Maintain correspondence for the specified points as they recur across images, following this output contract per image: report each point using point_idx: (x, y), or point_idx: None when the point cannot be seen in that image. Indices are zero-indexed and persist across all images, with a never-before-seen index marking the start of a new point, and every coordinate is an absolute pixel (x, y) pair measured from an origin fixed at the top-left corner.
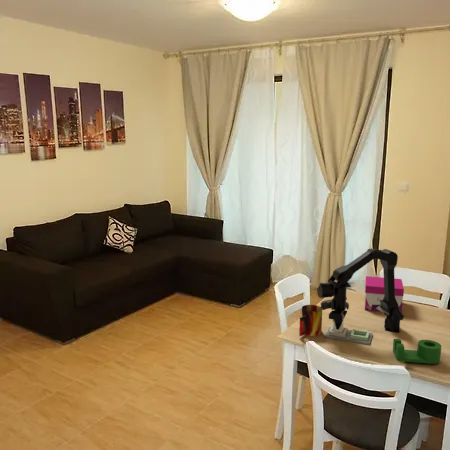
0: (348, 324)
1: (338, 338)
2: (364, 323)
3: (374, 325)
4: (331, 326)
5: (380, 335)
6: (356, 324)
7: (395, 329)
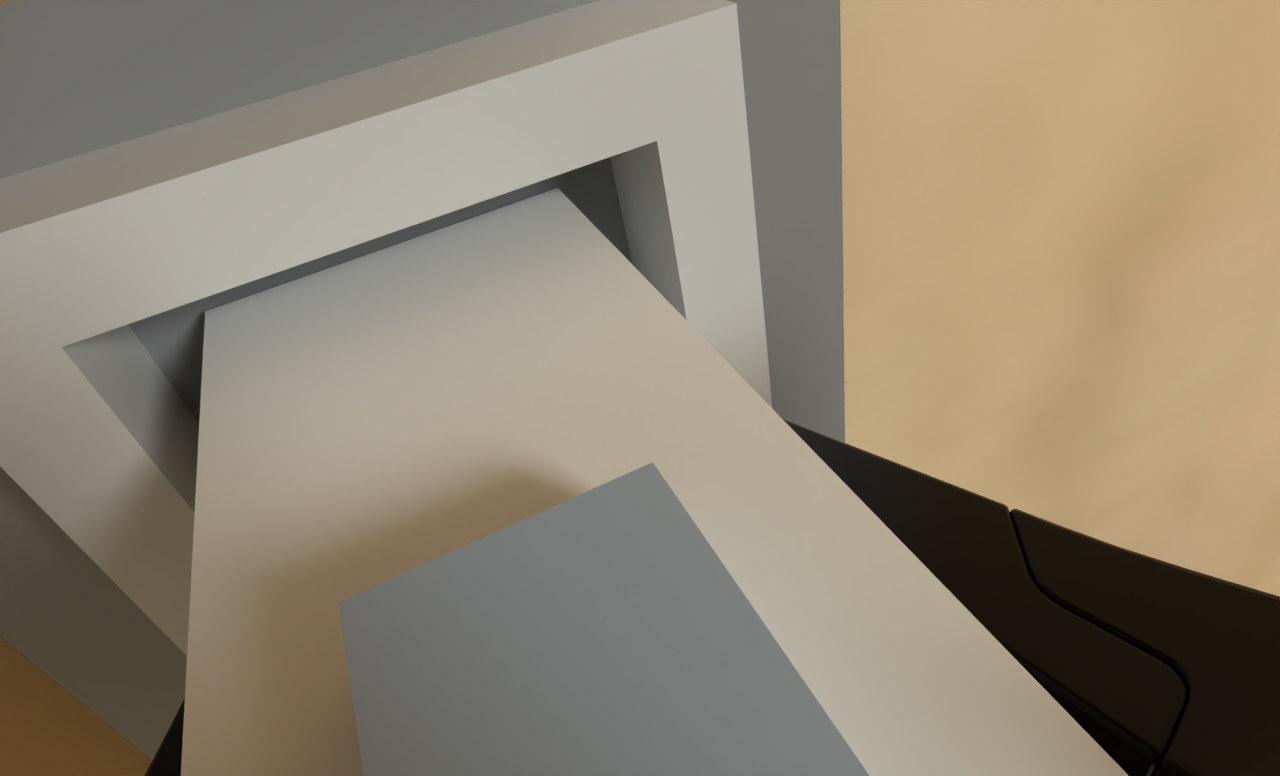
0: (1190, 169)
1: (8, 638)
2: (1248, 364)
3: (1182, 497)
4: (625, 40)
5: None
6: (1201, 295)
7: None
